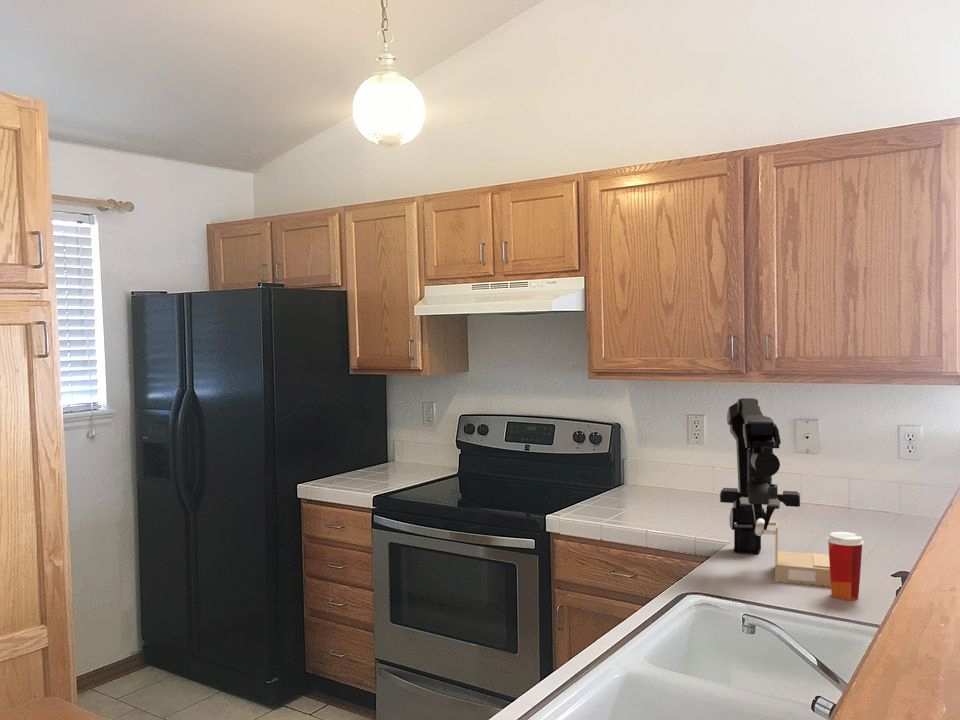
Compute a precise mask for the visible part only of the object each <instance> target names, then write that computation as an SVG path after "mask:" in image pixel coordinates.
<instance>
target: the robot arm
mask: <svg viewBox="0 0 960 720" xmlns="http://www.w3.org/2000/svg"><path fill="white" fill-rule="evenodd" d="M761 410H762V409H761V406H759V401H758V399H757V398H754V397H751V398H750V397H748V398H747V397H744V398H743V397H741V398H738V399H737V400H736V402H735V403H734V404H732V405H730V406H729V407H728V409H727V414H726V422H727V423H726V424H727V425H728V426H729V432H730V434H731V435H732V437H733V438H734V440H735V442H736V443H735V444H736V445H735V446H736V464H737V465H736V467H737V486H738V487H737V488H735V487H722V489H721V490H720V492H719V493H720V494H719V502H720V503H727V504H732V507H731V509H730V514H729V527H730V529H731V531H732V530H733V537H734V538H733V539H734V542H733V543H734V544H733V545H734V547H733V550H732V552H734V553H738V554H739V553H740V554H749V555H750V554H751V555H759V554H760V551H761V550H762V535H761V536H758V535H756V534H755V528H756V523H757V520H758V519H759V518H762V519H764V521H765V523H764V530H768V526H769V525H768V523H769V521H771V518H772V515H773V513H774V511H775V510H776V509H777V510H778V509H780V506H781V503H783V505H785V506H786V507H794V508H795V507H797V508H798V507H801V494H800V492H799V491H796V490H795V491H794V490H793V491H792V490H783V491H782V494H780V493H778V490H779V489H778V484H776V483H774V484H773V480H772V478H773V476H775V474H777V473H778V472H779V470H780V467H781V463H780V460H779V458H778V456H777V455H775V453H774V449H780V445H781V442H782V441H781V437H780V431H779V428H778V426H777V424H776V423H775V422H774V420H773V419H772V418H771V417H769V416H766V415H763V413H762V411H761ZM763 505H764V506H766V511H765V508H763Z"/></svg>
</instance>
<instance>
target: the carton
mask: <svg viewBox="0 0 960 720" xmlns="http://www.w3.org/2000/svg"><path fill="white" fill-rule="evenodd" d="M774 563H775V565H774V569H775V570H774V571H775V572H774V576H775V577H774V581H775V580H778V581H777V582H779V581H786V582H785V583H789V582H794V583H793V584H800V583H805V584H804V585H810V584H816V585H815V586H821V585H824V586H823V587H831V580H830V562H829V554H826V553H825V554H824V553H814V552H813V553H808V552H797V551H794V552H793V551H786V550H785V551H784V550H778V557H777V561H775V562H774Z"/></svg>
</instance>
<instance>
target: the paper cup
mask: <svg viewBox="0 0 960 720" xmlns="http://www.w3.org/2000/svg"><path fill="white" fill-rule="evenodd" d="M826 541H827V542H828V555H829V562H830V580H831V586H830V590H831V591H830V592H831V593H830V594H831V596H832V597H833V598H835V597H836V598H835V599H837V598H839V599H838V600H842V599H844V600H845V601H856V600H858V599H859V593H860V581H861V580H860V579H861V568H862V556H863V555H862V552H863V545H864V544H865V543H864V540H863V537H862V536H861V535H859V534H857V533H854V532H848V531H847V532H846V531H832V532H830V533H829V534H828V537H826ZM844 600H843V601H844Z"/></svg>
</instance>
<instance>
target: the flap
mask: <svg viewBox="0 0 960 720" xmlns="http://www.w3.org/2000/svg"><path fill="white" fill-rule="evenodd" d="M764 523H765V521H764V519H762V518H759V519H758V520H757V523H756V528H755V534H756V535H758V536H761V537H762V536H763V535H771V536H772V535H773V536H775V546H774V547H775V550H774V551H775V555H774V556H775V558H774V559H775V560H774V561H775V562H776V561H777V557H778V551H779V522H777V521H771V520H769V523H768V526H775V530H773V529H772V530H771V529H769V530H768V529H767V530H764Z"/></svg>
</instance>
